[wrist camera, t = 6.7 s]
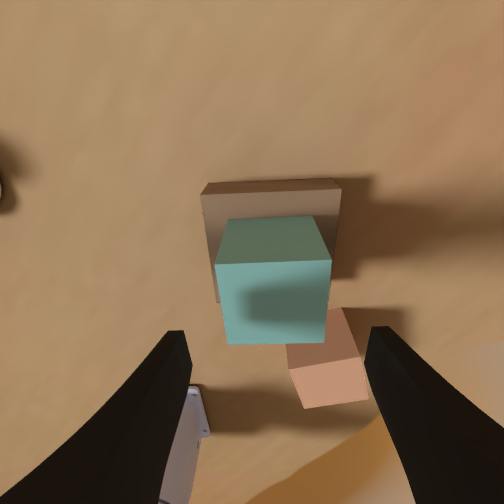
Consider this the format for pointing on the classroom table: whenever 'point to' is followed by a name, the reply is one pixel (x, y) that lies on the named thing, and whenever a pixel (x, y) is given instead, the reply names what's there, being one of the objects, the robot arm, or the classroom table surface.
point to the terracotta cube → (328, 366)
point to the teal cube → (273, 280)
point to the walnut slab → (270, 208)
